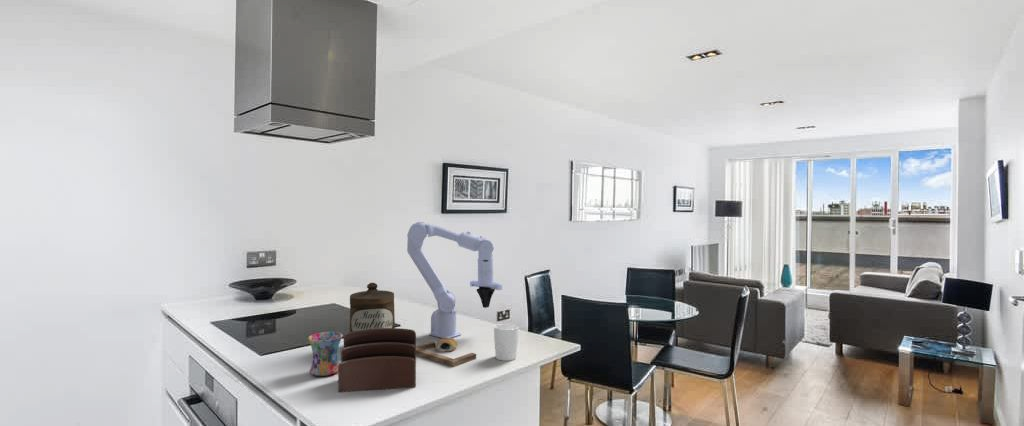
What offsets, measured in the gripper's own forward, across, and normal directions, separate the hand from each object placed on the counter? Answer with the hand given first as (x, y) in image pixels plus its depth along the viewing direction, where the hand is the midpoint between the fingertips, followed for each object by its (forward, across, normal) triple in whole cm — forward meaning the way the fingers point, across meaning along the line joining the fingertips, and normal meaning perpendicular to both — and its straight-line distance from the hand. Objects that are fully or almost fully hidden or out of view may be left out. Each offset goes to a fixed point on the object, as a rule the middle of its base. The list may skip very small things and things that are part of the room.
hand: (486, 307), depth 176 cm
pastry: (+10, -1, +21) cm, 24 cm away
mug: (+10, +10, +58) cm, 60 cm away
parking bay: (+10, -5, +28) cm, 30 cm away
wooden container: (+10, +20, +36) cm, 43 cm away
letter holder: (+10, -10, +54) cm, 56 cm away
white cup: (+11, -22, +16) cm, 29 cm away
